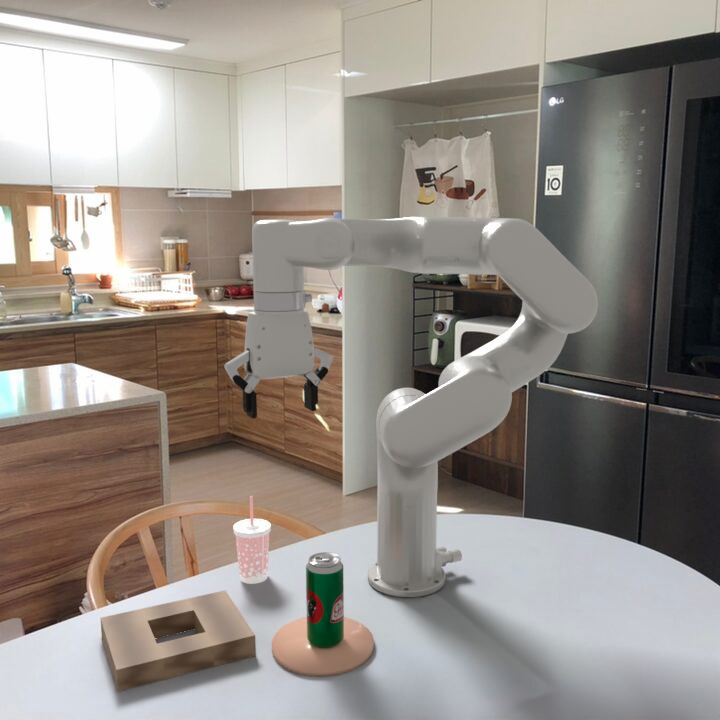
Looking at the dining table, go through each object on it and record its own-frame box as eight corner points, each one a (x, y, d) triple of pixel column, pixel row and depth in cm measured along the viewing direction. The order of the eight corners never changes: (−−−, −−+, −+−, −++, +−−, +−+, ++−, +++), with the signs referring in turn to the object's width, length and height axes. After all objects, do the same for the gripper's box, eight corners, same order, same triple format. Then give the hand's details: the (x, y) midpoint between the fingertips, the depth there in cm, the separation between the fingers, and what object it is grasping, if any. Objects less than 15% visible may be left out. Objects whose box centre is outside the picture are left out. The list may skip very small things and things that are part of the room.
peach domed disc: (347, 611, 115) (347, 606, 114) (391, 659, 102) (392, 654, 102) (257, 634, 109) (257, 629, 108) (294, 687, 96) (293, 682, 96)
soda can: (339, 652, 103) (338, 568, 100) (303, 648, 104) (301, 565, 101) (347, 632, 107) (346, 552, 105) (312, 628, 108) (311, 549, 106)
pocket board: (226, 608, 116) (225, 590, 115) (255, 655, 103) (255, 635, 103) (101, 637, 108) (100, 617, 107) (117, 691, 96) (116, 669, 95)
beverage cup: (257, 565, 130) (255, 486, 127) (279, 577, 126) (278, 496, 123) (227, 577, 126) (224, 496, 123) (249, 589, 121) (247, 506, 119)
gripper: (321, 297, 123) (322, 401, 126) (216, 303, 115) (220, 413, 118) (341, 302, 116) (342, 412, 119) (230, 308, 108) (234, 425, 112)
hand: (281, 412), depth 119 cm, fingers open, 9 cm apart
